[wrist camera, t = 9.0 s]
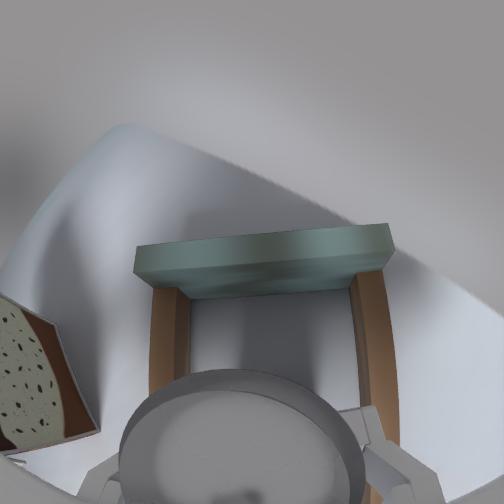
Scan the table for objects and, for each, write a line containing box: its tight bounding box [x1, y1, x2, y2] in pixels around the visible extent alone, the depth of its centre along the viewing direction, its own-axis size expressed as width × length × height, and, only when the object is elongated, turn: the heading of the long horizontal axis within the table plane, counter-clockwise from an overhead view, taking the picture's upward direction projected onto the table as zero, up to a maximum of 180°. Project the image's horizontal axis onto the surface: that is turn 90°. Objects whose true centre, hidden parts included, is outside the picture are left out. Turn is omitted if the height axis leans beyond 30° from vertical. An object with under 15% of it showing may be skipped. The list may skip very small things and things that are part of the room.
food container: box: [0, 293, 101, 466], centre depth 12 cm, size 12×6×10 cm, turn 36°
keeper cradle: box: [133, 223, 400, 504], centre depth 13 cm, size 13×16×5 cm
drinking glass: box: [118, 369, 366, 504], centre depth 8 cm, size 5×5×12 cm
